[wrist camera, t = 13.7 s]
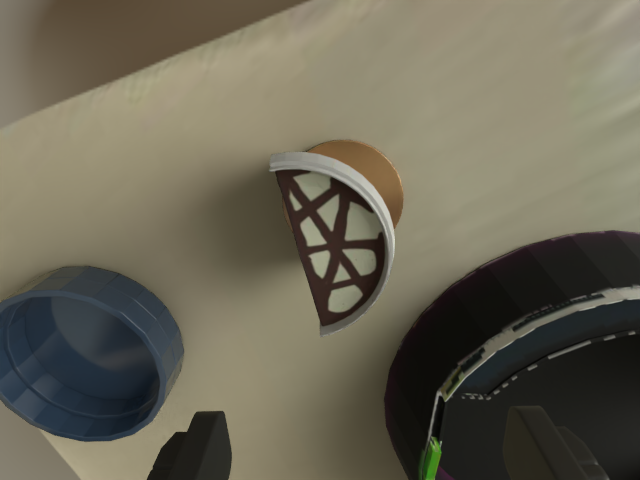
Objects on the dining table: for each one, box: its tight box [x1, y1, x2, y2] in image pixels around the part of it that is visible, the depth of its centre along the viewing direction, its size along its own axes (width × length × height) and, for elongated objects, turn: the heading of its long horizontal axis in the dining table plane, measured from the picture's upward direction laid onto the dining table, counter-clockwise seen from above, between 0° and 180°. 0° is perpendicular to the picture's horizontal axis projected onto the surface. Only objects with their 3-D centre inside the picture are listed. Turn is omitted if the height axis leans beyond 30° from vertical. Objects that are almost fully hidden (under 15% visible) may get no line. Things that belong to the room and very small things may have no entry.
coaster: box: [282, 140, 403, 232], centre depth 33 cm, size 10×10×1 cm
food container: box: [269, 152, 395, 337], centre depth 28 cm, size 12×6×10 cm, turn 15°
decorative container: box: [384, 231, 640, 480], centre depth 33 cm, size 37×37×15 cm
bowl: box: [0, 266, 184, 442], centre depth 37 cm, size 16×16×5 cm
